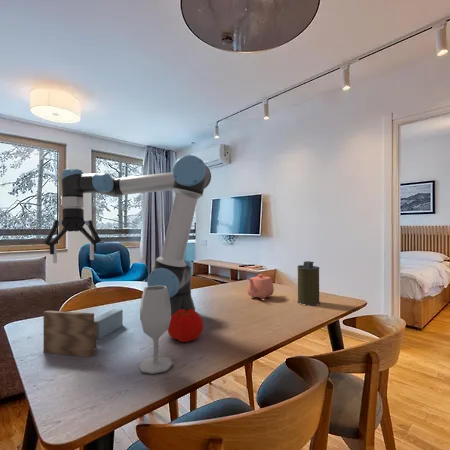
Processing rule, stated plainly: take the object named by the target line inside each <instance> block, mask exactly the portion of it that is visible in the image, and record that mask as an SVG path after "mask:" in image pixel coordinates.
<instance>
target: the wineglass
mask: <svg viewBox="0 0 450 450" xmlns="http://www.w3.org/2000/svg"><path fill="white" fill-rule="evenodd" d="M143 288H144V289H143V290H142V291H143V292H142V295H141V301H140V308H139V309H140V310H139V319H140V324H141V327H142V330H143V333H144V334H145V335H146V336H148V337H150V338H151V339H152V340H153V341H152V342H153V343H152V345H153V346H152V347H153V349H152V351H153V352H152V353H153V355H152V357H148V358H147V357H146V358H145V359H144V360H142V361H141V362H140V363H139V364H138V365H139V370H140V372H141V373H143V374H150V375H151V374H152V375H154V374H160V373H164V372H167V371H168V370H169V369H170V368H171V367H172V366H173V362H172V359H171V358H170V357H167V356H159V353H160V352H159V351H160V349H159V339H160V338H161V337H162V336H163V335H164V334H165V333H166V332H168V329H169V325H170V320H171V304H170V298H169V293H168V290H167V287H166V286H159V285H156V286H148V285H147V286H146V287H143Z"/></svg>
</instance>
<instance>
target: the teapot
mask: <svg viewBox="0 0 450 450" xmlns="http://www.w3.org/2000/svg"><path fill="white" fill-rule="evenodd" d="M274 289H275V288H274V283H273V281H272V278H271V277H270V276H265V275H264V274H261V273H258V274H257V276H252V277H250V278H248V285H247V290H246V291H247V294H248V296H250V298H251V297H255V298H259V299H265V298H267V297H271V296H272V295H273V294H274V292H275V291H274ZM265 300H266V299H265Z"/></svg>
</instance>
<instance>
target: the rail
mask: <svg viewBox="0 0 450 450" xmlns="http://www.w3.org/2000/svg"><path fill="white" fill-rule="evenodd" d="M123 317H124V316H123V309H121V308H120V309H117V308H112V309H110V310H108V311H106V312H103V313H102V314H100V315H98V316H94V322H97V341H99V340H100V339H102V338H104V337H105V336H106V337H107V335H109V334H111V333H112V332H114V331H115V330H118V329H119V328H122V327H123V323H124V322H123V319H124V318H123Z"/></svg>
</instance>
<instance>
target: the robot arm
mask: <svg viewBox="0 0 450 450" xmlns="http://www.w3.org/2000/svg"><path fill="white" fill-rule="evenodd" d="M60 181H61V190H62V194H61V195H62V196H61V197H62V201H61V202H62V205H61V207H62V210H61V211H62V220H57V219H55V220H53V223H52V227H51V229H50V230H49V232H48V234H47V236H46V238H45V240H44V241H43V244H44V245H47V246H48V247H49V254H50V255H52V263H53V264H57V263H58V254H57V253H58V250H57V249H58V248H57V243H58V242H59V241H60V240H61V238H62V237H63V236H64V235H65V234H66V233H67V232H80V233H82V234H83V235H84V237H85V238H87V240H88V241H89V242H90V243H89V260H91V261H94V260H95V252H96V251H97V244H98V243H100V242H101V241H102V240H101V238H100V236H99V234H98V233H97V231H96V229H95V227H94V225H93V220H91V219H89V220H85V216H84V214H85V212H84V211H85V210H84V194H92V193H93V194H100V195H104V196H105V195H106V196H110V197H113V198H119V197H122V196H124V195H135V194H145V193H155V192H165V191H166V192H168V191H173V192H174V194H175V195H174V199H173V201H172V203H173V204H172V207H171V212H170V215H169V219H168V224H167V229H166V233H165V238H164V242H163V247H162V251H161V254H160V256H158V257H156V259H155V263H154V267H153V270H152V271H151V272H150V273H149V274H148V277H147V281H146V283H147V287H148V286H156V285H159V286H166V287H167V290H168V293H169V298H170V304H171V316H172V315H173V314H174V313H175V312H176V311H178V310H181V309H184V310H187V311H188V310H189V309H193V310H194V311H195V312H196V307H195V303H194V299H193V297H192V263H191V261H190V260H188V259H187V260H186V259H185V254H186V251H187V246H188V241H189V237H190V233H191V229H192V225H193V221H194V217H195V216H194V215H195V213H196V207H197V202H198V199H201V197H202V196H203V195H204V190H205V189H206V188H207V187H208V186H209V185H210V183H211V181H212V173H211V170H210V168H209V167H208V166H207V164H206V163H205V162H204V160H202V159H201V158H199V157H197V156H196V155H192V154H188V155H187V154H186V155H183V156H181V157H178V158H177V160H176V161H175V163H174V165H173V168H172V171H171V172H160V173H153V174H152V173H150V174H141V175H133V176H125V177H118V178H117V177H116V178H114V177H112V176H111V175H110V174H109V173H107V172H97V173H96V172H95V173H83V170H81V169H78V168H65V169H63V170H62V173H61V180H60ZM61 225H62V227H63V228H62V229H61V230H60V231H59V232H58V234H57V235H56V236H55V237H54V235H55V233H56V231H57V229H58V227H59V226H61ZM85 225H86V226H87V227H88V230H89V231H90V232H91V234H90V233H89V232H88V231H87V230H86V229H85V228H84V226H85ZM92 236H93V237H92ZM53 237H54V238H53ZM52 238H53V239H52ZM55 244H56V245H55Z"/></svg>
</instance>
